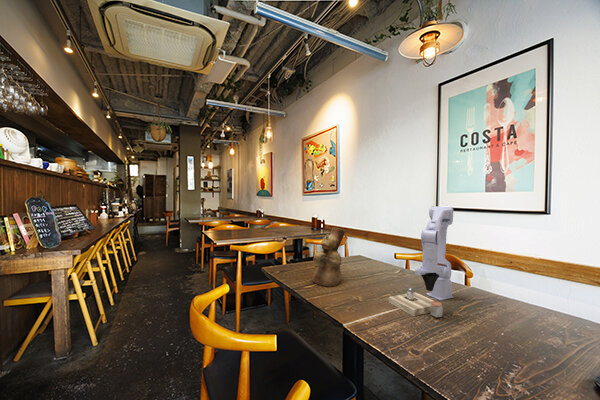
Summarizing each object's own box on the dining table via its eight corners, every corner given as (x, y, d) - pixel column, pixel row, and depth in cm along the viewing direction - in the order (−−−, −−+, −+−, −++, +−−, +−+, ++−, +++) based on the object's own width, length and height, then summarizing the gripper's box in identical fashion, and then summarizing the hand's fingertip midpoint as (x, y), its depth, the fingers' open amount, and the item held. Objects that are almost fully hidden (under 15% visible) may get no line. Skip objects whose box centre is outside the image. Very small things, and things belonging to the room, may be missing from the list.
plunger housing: (435, 313, 102) (435, 303, 102) (442, 316, 100) (442, 306, 100) (430, 314, 101) (430, 304, 101) (436, 317, 98) (437, 307, 98)
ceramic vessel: (306, 281, 141) (307, 228, 140) (332, 273, 155) (332, 225, 155) (327, 289, 129) (328, 231, 129) (353, 280, 144) (353, 228, 143)
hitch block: (415, 297, 120) (415, 292, 120) (441, 309, 107) (441, 304, 107) (388, 302, 114) (389, 296, 114) (413, 316, 101) (413, 309, 101)
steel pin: (410, 302, 115) (410, 287, 115) (416, 305, 112) (416, 289, 112) (405, 303, 114) (405, 287, 114) (410, 306, 111) (410, 290, 110)
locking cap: (435, 310, 103) (435, 300, 103) (443, 314, 99) (443, 303, 99) (429, 312, 101) (429, 301, 101) (437, 316, 98) (437, 305, 98)
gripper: (433, 254, 112) (433, 284, 112) (409, 257, 106) (409, 289, 106) (448, 258, 105) (448, 290, 105) (423, 261, 100) (422, 295, 100)
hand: (429, 290), depth 105 cm, fingers closed
